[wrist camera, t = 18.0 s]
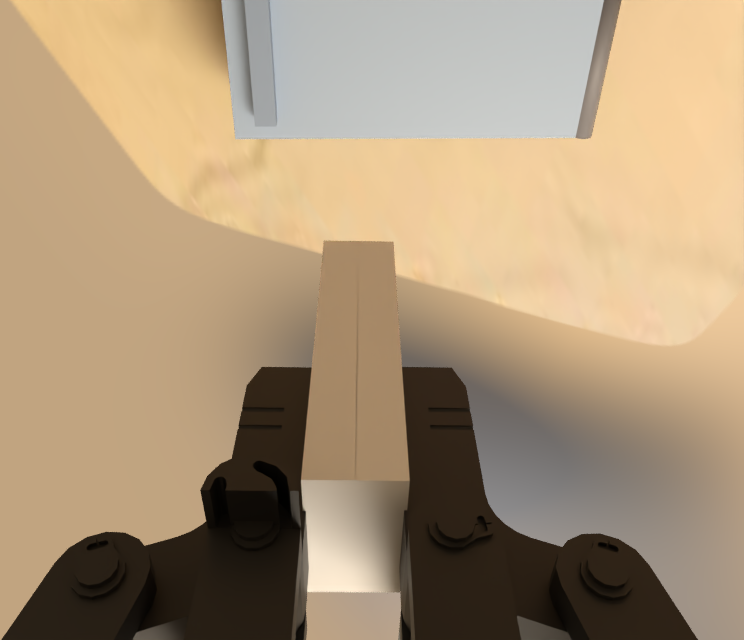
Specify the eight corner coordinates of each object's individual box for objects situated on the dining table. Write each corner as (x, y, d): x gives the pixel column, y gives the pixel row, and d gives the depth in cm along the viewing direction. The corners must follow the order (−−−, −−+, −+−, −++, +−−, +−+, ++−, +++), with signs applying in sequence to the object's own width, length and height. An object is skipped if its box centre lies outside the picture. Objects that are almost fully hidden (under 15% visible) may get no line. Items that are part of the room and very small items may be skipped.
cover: (219, -48, 29) (213, -41, 28) (624, -43, 30) (641, -36, 29) (237, 131, 34) (233, 146, 32) (587, 130, 35) (600, 145, 33)
